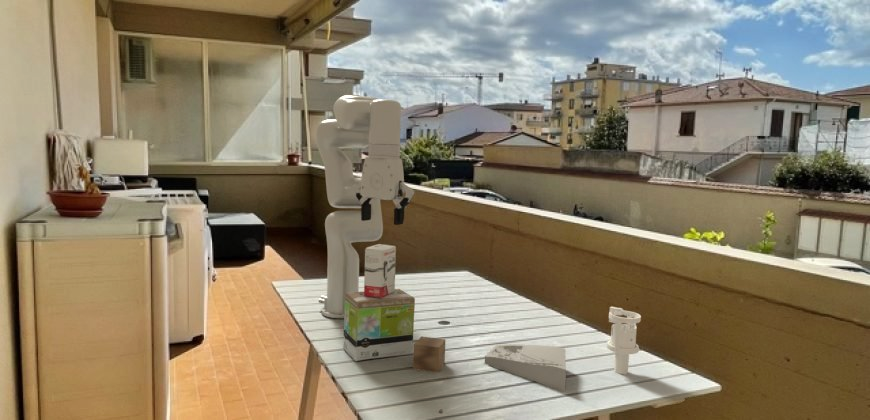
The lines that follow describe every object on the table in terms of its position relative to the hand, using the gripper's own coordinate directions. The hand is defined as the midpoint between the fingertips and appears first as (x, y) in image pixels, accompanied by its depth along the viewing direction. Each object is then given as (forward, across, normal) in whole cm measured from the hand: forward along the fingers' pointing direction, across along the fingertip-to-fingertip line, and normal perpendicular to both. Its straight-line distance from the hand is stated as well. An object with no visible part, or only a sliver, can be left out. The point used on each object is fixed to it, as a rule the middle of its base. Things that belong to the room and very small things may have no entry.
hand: (382, 222), depth 136 cm
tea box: (+33, 0, -1) cm, 33 cm away
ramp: (+33, +36, +11) cm, 50 cm away
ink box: (+18, 0, 0) cm, 18 cm away
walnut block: (+32, +16, -2) cm, 36 cm away
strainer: (+32, +55, +21) cm, 67 cm away
